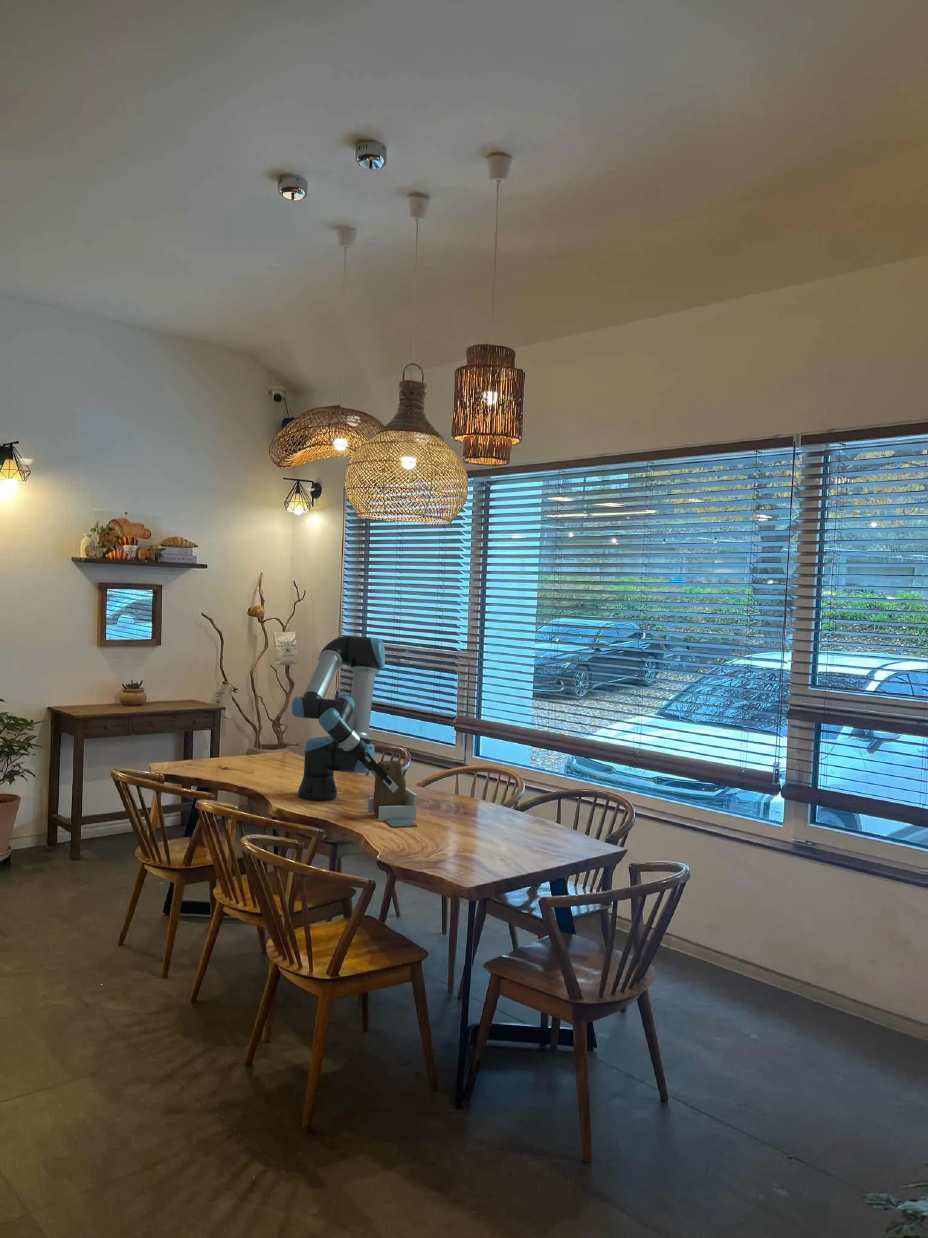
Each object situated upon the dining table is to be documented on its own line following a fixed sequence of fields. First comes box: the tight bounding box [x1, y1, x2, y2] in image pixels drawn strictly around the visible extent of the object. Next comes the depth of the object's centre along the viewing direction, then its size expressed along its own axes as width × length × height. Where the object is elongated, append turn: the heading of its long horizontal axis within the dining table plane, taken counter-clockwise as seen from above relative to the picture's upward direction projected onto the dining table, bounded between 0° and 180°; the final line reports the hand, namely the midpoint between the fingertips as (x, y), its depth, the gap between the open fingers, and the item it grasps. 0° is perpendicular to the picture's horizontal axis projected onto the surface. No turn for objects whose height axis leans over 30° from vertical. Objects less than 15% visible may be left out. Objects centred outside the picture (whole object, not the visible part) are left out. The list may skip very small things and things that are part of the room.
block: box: [373, 760, 407, 817], centre depth 325 cm, size 11×8×20 cm
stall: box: [367, 787, 418, 822], centre depth 325 cm, size 14×14×9 cm
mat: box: [383, 818, 418, 829], centre depth 314 cm, size 9×9×1 cm
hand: (390, 785), depth 323 cm, fingers open, 13 cm apart
